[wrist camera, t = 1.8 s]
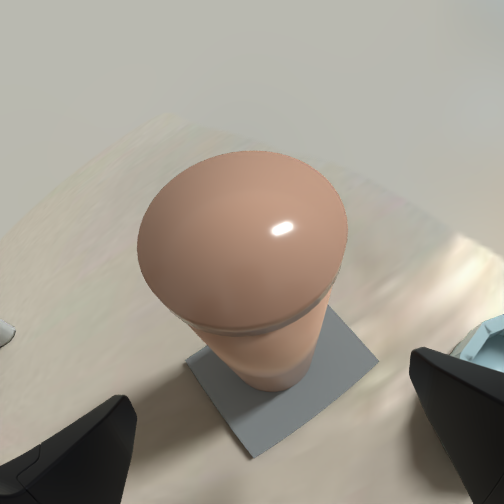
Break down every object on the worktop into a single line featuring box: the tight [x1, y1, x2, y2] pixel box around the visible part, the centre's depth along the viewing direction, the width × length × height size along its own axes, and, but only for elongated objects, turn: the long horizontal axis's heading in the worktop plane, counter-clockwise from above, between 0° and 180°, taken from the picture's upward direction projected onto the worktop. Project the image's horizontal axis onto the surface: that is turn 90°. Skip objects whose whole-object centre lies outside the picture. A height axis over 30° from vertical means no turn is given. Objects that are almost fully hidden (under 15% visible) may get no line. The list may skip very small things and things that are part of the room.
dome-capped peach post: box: [137, 151, 348, 392], centre depth 14 cm, size 5×5×14 cm
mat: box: [185, 305, 379, 458], centre depth 19 cm, size 10×8×1 cm
